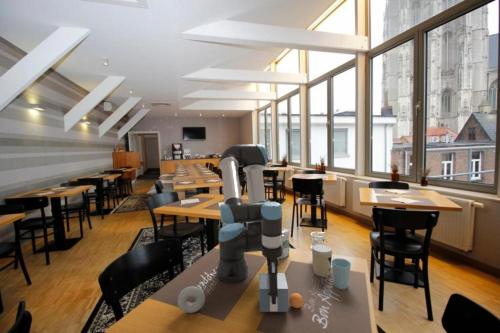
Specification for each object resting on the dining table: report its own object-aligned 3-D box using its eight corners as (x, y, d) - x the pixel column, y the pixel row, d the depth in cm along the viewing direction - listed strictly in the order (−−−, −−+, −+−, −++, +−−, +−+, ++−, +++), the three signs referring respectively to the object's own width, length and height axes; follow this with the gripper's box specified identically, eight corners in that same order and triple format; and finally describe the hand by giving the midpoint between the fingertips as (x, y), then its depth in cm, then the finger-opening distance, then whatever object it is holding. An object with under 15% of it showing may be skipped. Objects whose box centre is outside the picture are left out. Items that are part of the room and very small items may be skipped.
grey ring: (177, 317, 88) (176, 291, 87) (178, 310, 91) (177, 285, 90) (205, 313, 89) (204, 287, 88) (205, 307, 93) (204, 282, 92)
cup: (343, 279, 109) (344, 257, 108) (354, 289, 101) (354, 266, 100) (328, 281, 108) (328, 259, 106) (337, 292, 100) (337, 268, 99)
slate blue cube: (259, 311, 87) (259, 288, 86) (259, 294, 97) (258, 273, 96) (288, 311, 87) (287, 288, 86) (284, 294, 97) (284, 273, 96)
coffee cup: (333, 278, 110) (333, 253, 109) (312, 276, 112) (312, 251, 111) (330, 267, 119) (331, 244, 118) (311, 266, 121) (311, 243, 120)
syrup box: (281, 252, 137) (280, 227, 135) (289, 255, 133) (289, 230, 131) (274, 255, 133) (274, 230, 132) (282, 259, 129) (282, 232, 127)
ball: (299, 290, 91) (307, 301, 91) (292, 289, 95) (299, 298, 95) (292, 302, 88) (300, 312, 88) (284, 299, 92) (292, 309, 93)
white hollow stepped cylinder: (325, 263, 123) (325, 234, 122) (311, 262, 125) (311, 234, 123) (323, 256, 130) (323, 229, 129) (310, 256, 132) (310, 229, 130)
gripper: (285, 259, 78) (286, 323, 81) (279, 232, 101) (279, 283, 103) (262, 259, 79) (263, 322, 81) (261, 233, 101) (262, 283, 103)
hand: (272, 300), depth 92 cm, fingers closed on slate blue cube, 10 cm apart
